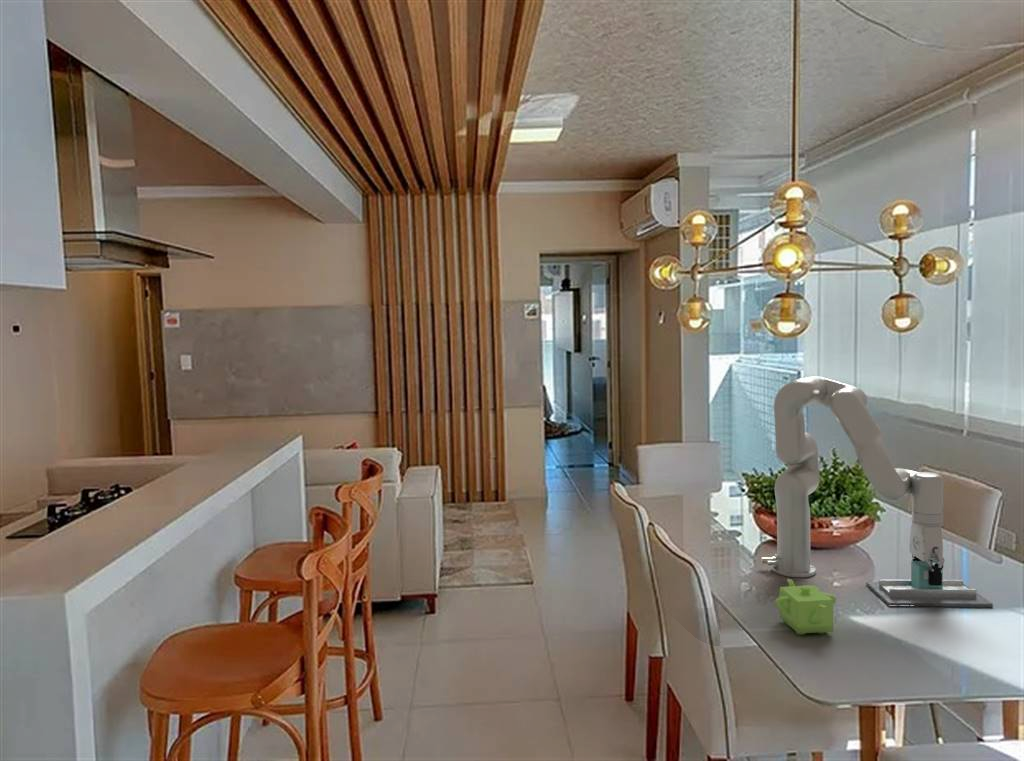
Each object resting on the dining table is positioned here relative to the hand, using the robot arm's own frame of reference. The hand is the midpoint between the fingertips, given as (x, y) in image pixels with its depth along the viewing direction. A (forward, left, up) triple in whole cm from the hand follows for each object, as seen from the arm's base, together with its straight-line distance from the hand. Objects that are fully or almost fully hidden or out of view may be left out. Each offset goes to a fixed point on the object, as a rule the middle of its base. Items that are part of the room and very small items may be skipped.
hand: (926, 578), depth 199 cm
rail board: (0, 0, -5) cm, 5 cm away
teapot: (-39, -23, -5) cm, 45 cm away
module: (0, 0, -3) cm, 3 cm away
